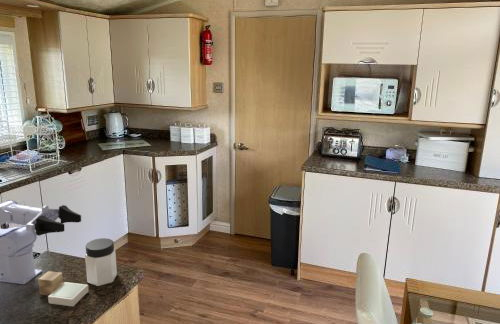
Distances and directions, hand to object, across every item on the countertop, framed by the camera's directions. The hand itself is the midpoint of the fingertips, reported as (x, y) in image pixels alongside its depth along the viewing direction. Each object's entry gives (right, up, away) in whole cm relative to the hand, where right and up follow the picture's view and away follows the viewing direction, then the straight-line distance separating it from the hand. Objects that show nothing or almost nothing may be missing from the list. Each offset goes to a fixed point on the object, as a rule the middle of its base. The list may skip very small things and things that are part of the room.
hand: (72, 223), depth 110 cm
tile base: (0, -21, -2) cm, 21 cm away
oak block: (-7, -21, +1) cm, 22 cm away
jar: (+6, -19, +8) cm, 22 cm away
